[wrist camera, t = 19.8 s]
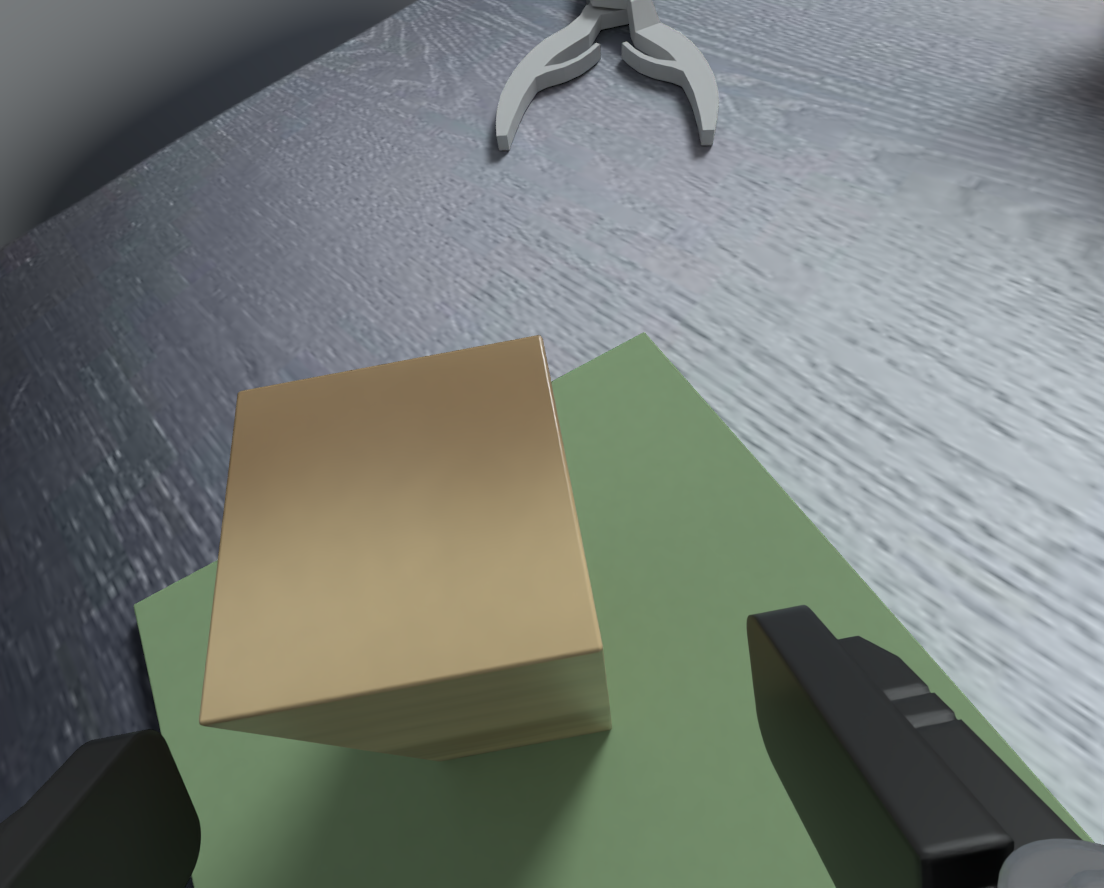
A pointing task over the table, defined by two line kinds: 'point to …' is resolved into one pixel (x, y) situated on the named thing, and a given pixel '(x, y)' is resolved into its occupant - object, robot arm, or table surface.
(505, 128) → the pliers
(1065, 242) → the table surface
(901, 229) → the table surface
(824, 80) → the table surface
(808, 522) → the mat
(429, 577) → the block
